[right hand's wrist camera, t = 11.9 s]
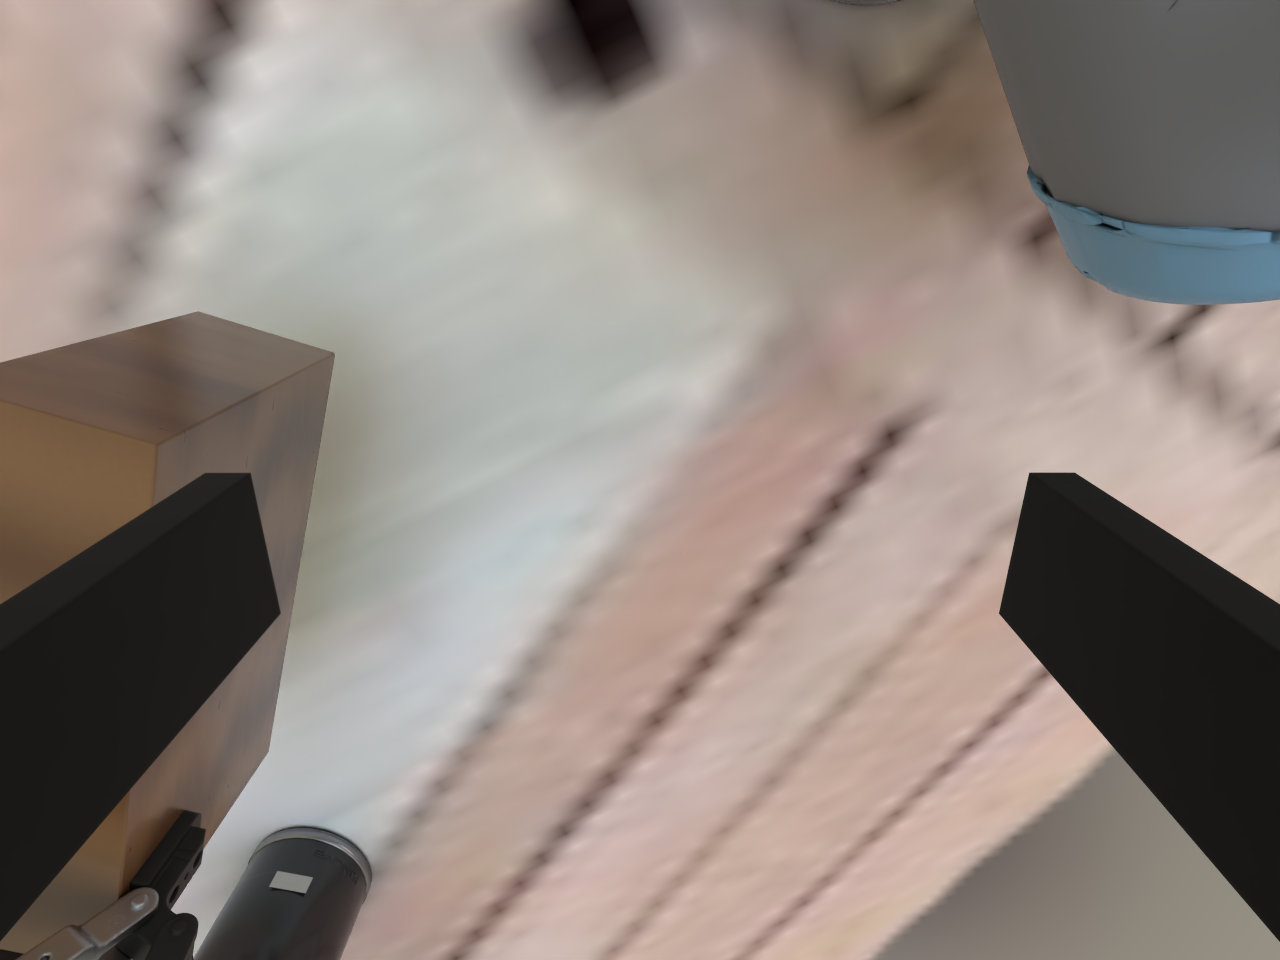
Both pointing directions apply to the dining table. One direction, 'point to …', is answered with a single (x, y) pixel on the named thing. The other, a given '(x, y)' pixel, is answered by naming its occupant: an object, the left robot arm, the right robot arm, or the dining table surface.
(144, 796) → the box
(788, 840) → the dining table surface
